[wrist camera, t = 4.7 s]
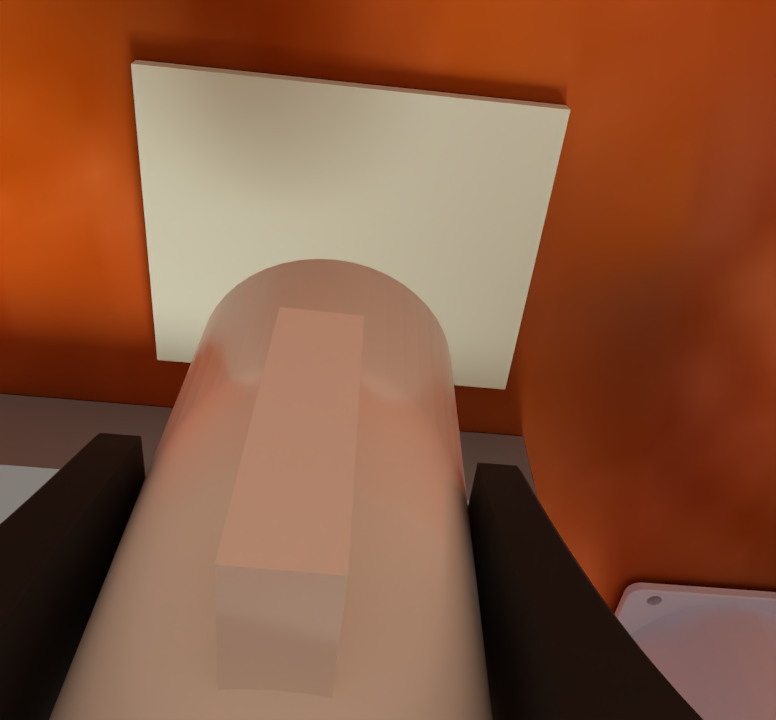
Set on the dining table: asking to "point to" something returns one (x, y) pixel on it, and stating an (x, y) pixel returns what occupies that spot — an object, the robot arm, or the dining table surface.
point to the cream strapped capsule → (297, 523)
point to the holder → (143, 441)
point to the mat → (343, 196)
